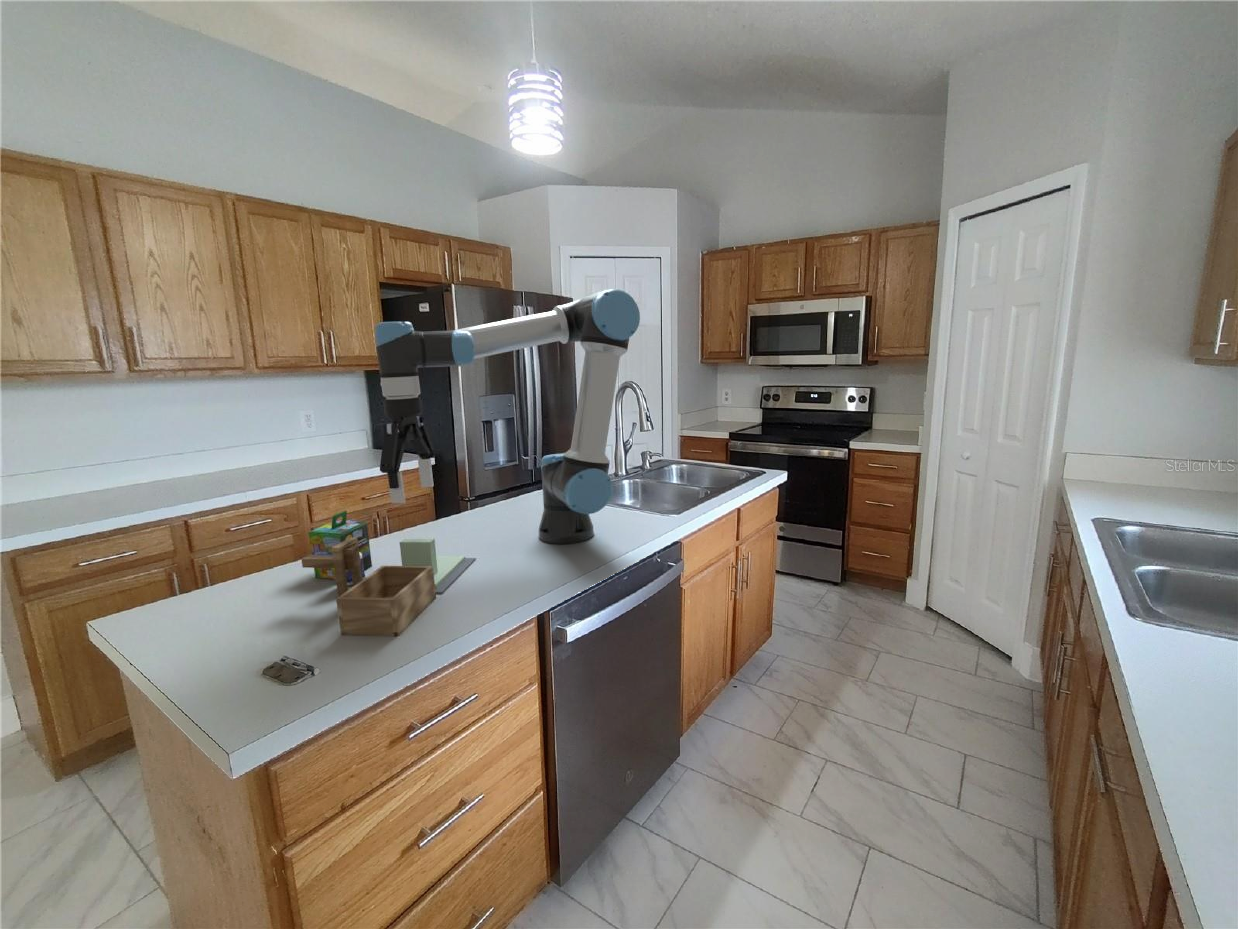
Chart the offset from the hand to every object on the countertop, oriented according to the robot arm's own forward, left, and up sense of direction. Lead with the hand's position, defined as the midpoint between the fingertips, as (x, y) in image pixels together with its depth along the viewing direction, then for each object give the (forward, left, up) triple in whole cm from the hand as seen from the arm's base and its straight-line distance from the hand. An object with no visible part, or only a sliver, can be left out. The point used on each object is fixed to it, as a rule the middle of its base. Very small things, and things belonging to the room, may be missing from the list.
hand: (413, 494), depth 121 cm
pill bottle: (+14, +4, -20) cm, 25 cm away
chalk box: (+21, -4, -20) cm, 30 cm away
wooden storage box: (+1, +17, -20) cm, 26 cm away
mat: (0, -3, -20) cm, 20 cm away
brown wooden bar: (+12, +13, -11) cm, 21 cm away
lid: (0, -3, -20) cm, 20 cm away
